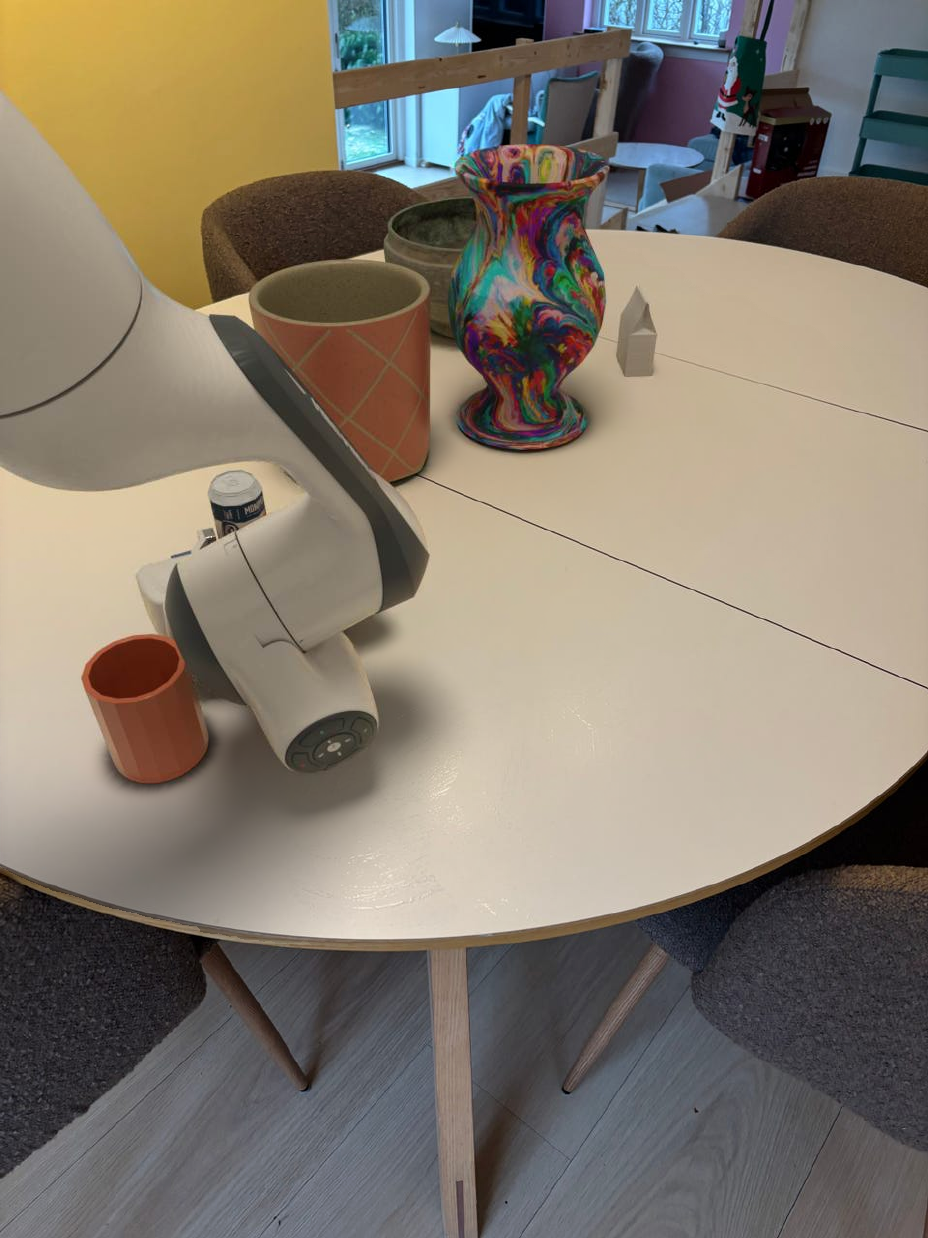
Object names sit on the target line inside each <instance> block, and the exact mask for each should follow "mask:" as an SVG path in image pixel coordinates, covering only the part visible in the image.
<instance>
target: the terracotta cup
mask: <svg viewBox="0 0 928 1238" xmlns="http://www.w3.org/2000/svg"><path fill="white" fill-rule="evenodd" d="M81 682H82V685H83V689H84V691H85V694H86V697H87V699H88V703H89V704H90V707H91V709H92V712H93V715H94V717H95V719H96V722H97V724H98V728H99V729H100V731H101V734H102V736H103V739H104V741H105V744H106V747H107V749H108V752H109V755H110V757H111V759H112V761H113V764H114V766H115V768H116V769H117V771H118V772H119V774H121V775H122V776H123V777H124V778H126V779H128V780H129V781H132V782H135V783H140V784H160V783H165V782H168V781H172V780H175V779H177V778H179V777H181V776H183V775H185V774H186V773H188V772H189V771H191V770H192V769H194V768H195V767H196V766H197V765H198V764H199V763H200V761H201V760H202V759H203V757H204V756H205V754H206V752H207V749H208V746H209V731H208V727H207V724H206V721H205V717H204V714H203V710H202V706H201V703H200V700H199V696H198V693H197V690H196V686H195V682H194V679H193V674H192V672H191V671H190V669H189V668H188V666H187V665H186V663H185V662H184V660H183V658H182V656H181V654H180V652H179V650H178V647H177V645H176V642H175V641H174V640H172V639H171V638H169V637H165V636H160V635H158V634H155V633H146V634H133V635H129V636H127V637H124V638H120V639H117V640H115V641H112V642H111V643H109V644H107V645H105V646H104V647H102V648H100V649H99V650H97V651H96V652H95V653H94V654H93V656H91V657H90V659H89V660H88V661H87V662H86V663H85V666H84V669H83V672H82V675H81Z"/></svg>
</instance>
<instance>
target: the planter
mask: <svg viewBox="0 0 928 1238" xmlns="http://www.w3.org/2000/svg"><path fill="white" fill-rule="evenodd" d="M248 305H249V310H250V315H251V320H252V326H253V329H254V330H255V331H256V332H257V333H258V334H259V335H261V336H262V337H263V338H264V339H265V340H266V341H267V342H268V343H269V344H270V346H271V347H272V348H273V349H274V350H275V351H276V352H277V353H278V354H279V355H280V357H281V358H282V359H283V360H284V361H285V362H286V363H287V365H288V366H289V367H290V368H291V369H292V370H293V372H294V373H295V374H296V375H297V376H298V378H299V379H300V380H301V381H302V382H303V384H304V385H305V386H306V387H307V388H308V390H309V391H310V392H311V393H312V395H313V396H314V397H315V398H316V400H317V401H318V402H319V403H320V405H321V406H322V407H323V408H324V409H325V411H326V412H327V413H328V414H329V416H330V417H331V418H332V419H333V421H334V422H335V423H336V424H337V426H338V427H339V428H340V429H341V431H342V432H343V433H344V434H345V436H346V437H347V438H348V439H349V441H350V442H351V443H352V444H353V446H354V447H355V448H356V449H357V451H358V452H359V453H360V454H361V455H362V457H363V458H364V459H365V460H366V461H367V462H368V463H369V464H370V465H371V467H372V468H373V469H374V470H375V471H376V472H377V473H378V475H379V476H380V477H382V478H383V479H384V480H386V481H387V482H388V483H389V484H390V483H392V482H395V481H399V480H401V479H404V478H407V477H410V476H412V475H415V474H417V473H419V472H421V470H422V469H423V468H424V466H425V462H426V459H427V456H428V455H429V454H428V453H429V450H430V443H431V328H430V287H429V284H428V282H427V280H426V279H425V278H424V277H423V276H422V275H420V274H419V273H417V272H415V271H413V270H411V269H408V268H406V267H403V266H400V265H396V264H392V263H387V262H385V261H380V260H371V259H357V258H355V259H352V258H350V259H346V258H345V259H328V260H320V261H313V262H307V263H302V264H298V265H293V266H290V267H286V268H283V269H280V270H278V271H275V272H272V273H271V274H269V275H267V276H265V277H263V278H262V279H260V280H259V281H257V282H256V283H255V284H254V285H253V286H252V287H251V289H250V291H249V293H248Z"/></svg>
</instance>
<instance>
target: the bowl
mask: <svg viewBox="0 0 928 1238" xmlns="http://www.w3.org/2000/svg"><path fill="white" fill-rule="evenodd" d="M476 222H477V221H476V204H475V201H474V199H473V197H472V196H459V197H448V198H447V197H446V198H441V199H436V200H434V199H433V200H428V201H425V202H421V203H418V204H414V205H410V206H408V207H405V208H403V209H400V210H399V211H398V212H396V213H395V214H393V215H392V216H391V217H390V218H389V220H388V222H387V231H388V233H386V235H385V237H384V239H383V256H384V262H387V263H392V264H396V265H400V266H403V267H406V268H408V269H411V270H413V271H415V272H417V273H419V274H420V275H422V276H423V277H424V278H425V279H426V280H427V282H428V284H429V287H430V330H431V331H433V332H435V333H437V334H439V335H441V336H444V337H447V338H452V339H455V338H454V335H453V332H452V328H451V325H450V321H449V310H448V299H447V297H448V291H449V285H450V278H451V272H452V269H453V267H454V265H455V264H456V262H457V260H458V258H459V256H460V254H461V252H462V250H463V248H464V247H465V245H466V243H467V241H468V239H469V236H470V234H471V232H472V230H473V228H474V226H475V224H476Z"/></svg>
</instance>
